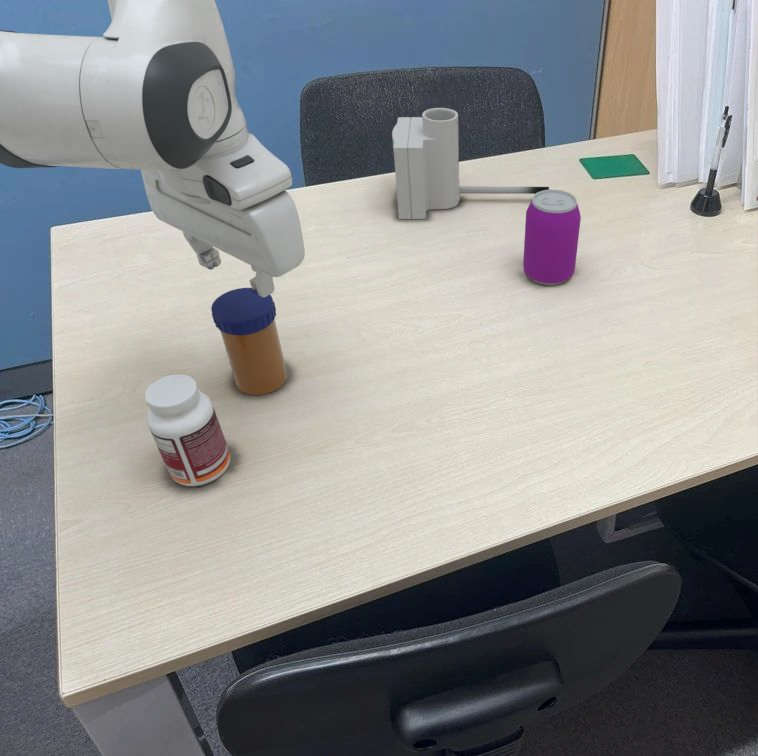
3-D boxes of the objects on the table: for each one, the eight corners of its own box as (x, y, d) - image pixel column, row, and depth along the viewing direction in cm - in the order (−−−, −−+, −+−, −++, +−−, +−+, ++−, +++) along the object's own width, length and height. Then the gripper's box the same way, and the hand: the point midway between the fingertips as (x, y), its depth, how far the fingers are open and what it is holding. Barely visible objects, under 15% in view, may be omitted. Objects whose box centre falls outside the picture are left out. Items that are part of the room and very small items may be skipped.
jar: (252, 402, 82) (232, 330, 75) (226, 377, 85) (204, 306, 78) (297, 379, 85) (281, 308, 78) (270, 356, 88) (253, 285, 81)
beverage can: (575, 262, 107) (584, 189, 99) (572, 290, 101) (580, 215, 93) (526, 257, 108) (530, 184, 100) (519, 285, 102) (523, 210, 94)
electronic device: (399, 185, 124) (392, 99, 114) (544, 185, 126) (550, 101, 116) (394, 219, 115) (387, 129, 105) (551, 219, 117) (558, 130, 107)
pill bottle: (233, 441, 77) (208, 365, 70) (229, 483, 73) (202, 407, 66) (173, 449, 76) (141, 372, 69) (166, 492, 72) (131, 416, 64)
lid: (233, 343, 76) (229, 330, 74) (203, 316, 79) (199, 303, 78) (287, 318, 79) (284, 305, 78) (256, 293, 83) (253, 280, 81)
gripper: (109, 138, 69) (152, 259, 78) (248, 200, 60) (278, 327, 70) (165, 119, 73) (200, 236, 82) (303, 174, 64) (324, 298, 74)
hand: (237, 278), depth 76 cm, fingers open, 7 cm apart
